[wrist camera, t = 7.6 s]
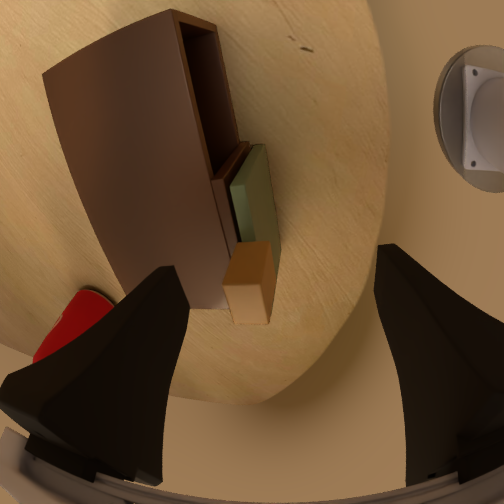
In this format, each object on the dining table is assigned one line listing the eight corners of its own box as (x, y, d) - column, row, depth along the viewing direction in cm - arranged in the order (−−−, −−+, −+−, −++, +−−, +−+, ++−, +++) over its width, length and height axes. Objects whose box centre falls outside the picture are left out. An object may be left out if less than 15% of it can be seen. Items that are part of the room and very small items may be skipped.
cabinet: (225, 22, 13) (184, 3, 8) (268, 245, 22) (254, 309, 17) (108, 62, 15) (41, 74, 10) (166, 251, 24) (132, 306, 19)
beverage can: (72, 296, 31) (22, 371, 22) (90, 277, 28) (30, 363, 19) (109, 328, 34) (67, 406, 24) (132, 314, 31) (84, 404, 21)
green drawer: (275, 142, 17) (247, 218, 10) (290, 249, 22) (276, 361, 14) (249, 145, 18) (201, 221, 10) (268, 250, 22) (245, 360, 14)
